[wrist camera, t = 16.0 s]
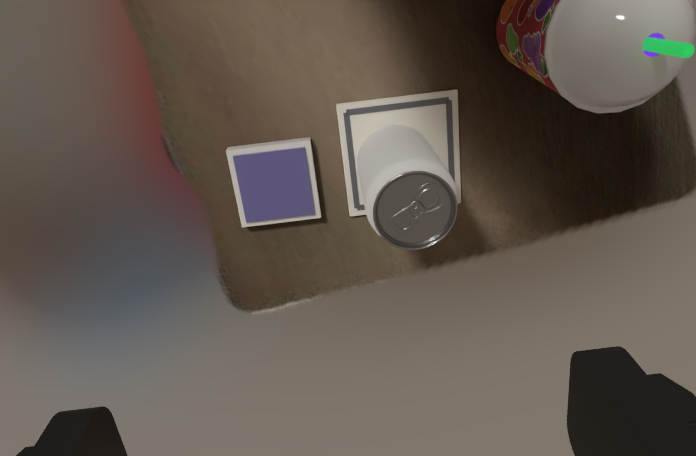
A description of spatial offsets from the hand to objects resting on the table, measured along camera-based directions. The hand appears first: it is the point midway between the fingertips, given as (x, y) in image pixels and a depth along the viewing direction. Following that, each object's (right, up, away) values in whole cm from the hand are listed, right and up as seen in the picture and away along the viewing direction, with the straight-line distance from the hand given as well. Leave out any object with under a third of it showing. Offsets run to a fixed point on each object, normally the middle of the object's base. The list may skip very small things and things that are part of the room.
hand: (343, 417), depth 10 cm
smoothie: (+15, +20, +34) cm, 42 cm away
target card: (+5, +10, +38) cm, 39 cm away
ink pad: (-6, +7, +38) cm, 39 cm away
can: (+4, +9, +38) cm, 39 cm away
